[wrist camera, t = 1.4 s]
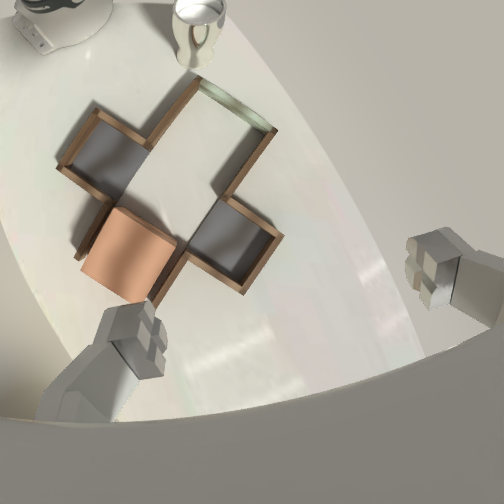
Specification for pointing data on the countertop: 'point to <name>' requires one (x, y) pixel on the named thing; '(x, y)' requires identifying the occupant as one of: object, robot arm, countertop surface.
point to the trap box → (218, 220)
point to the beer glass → (197, 30)
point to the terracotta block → (128, 255)
